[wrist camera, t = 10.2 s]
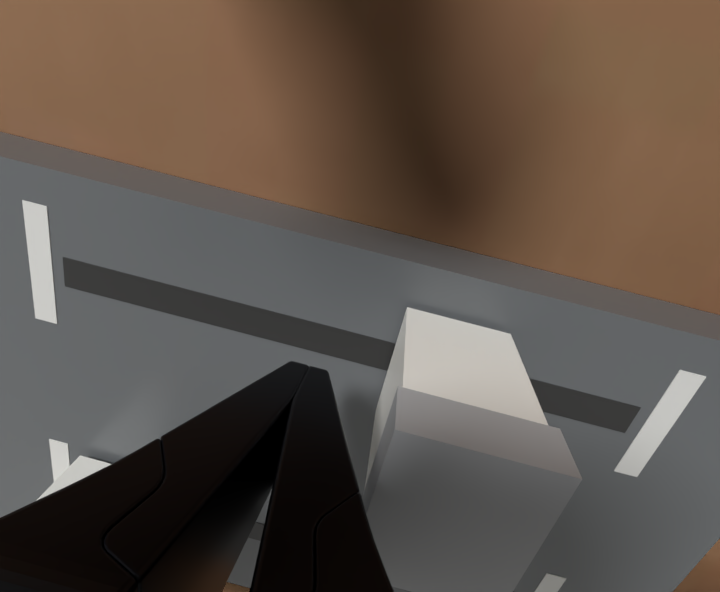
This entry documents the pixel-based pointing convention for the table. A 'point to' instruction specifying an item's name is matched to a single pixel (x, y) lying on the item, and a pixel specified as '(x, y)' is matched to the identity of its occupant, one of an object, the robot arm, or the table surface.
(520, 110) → the table surface
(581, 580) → the console
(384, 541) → the grey fader
